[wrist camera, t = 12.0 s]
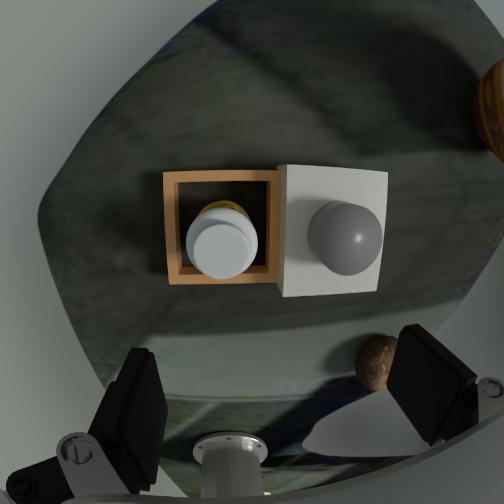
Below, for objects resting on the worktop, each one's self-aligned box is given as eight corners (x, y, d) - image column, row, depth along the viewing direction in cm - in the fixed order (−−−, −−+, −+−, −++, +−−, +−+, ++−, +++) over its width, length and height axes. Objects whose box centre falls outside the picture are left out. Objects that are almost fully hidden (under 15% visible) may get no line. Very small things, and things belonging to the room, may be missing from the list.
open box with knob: (356, 274, 32) (390, 302, 24) (173, 279, 30) (158, 314, 22) (364, 171, 29) (405, 173, 21) (168, 167, 27) (147, 165, 19)
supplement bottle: (258, 210, 29) (274, 229, 19) (238, 259, 30) (244, 300, 20) (206, 191, 28) (196, 200, 18) (188, 241, 29) (170, 275, 19)
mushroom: (382, 395, 34) (401, 400, 29) (338, 378, 36) (351, 381, 30) (402, 347, 37) (423, 344, 31) (360, 328, 38) (375, 323, 33)
